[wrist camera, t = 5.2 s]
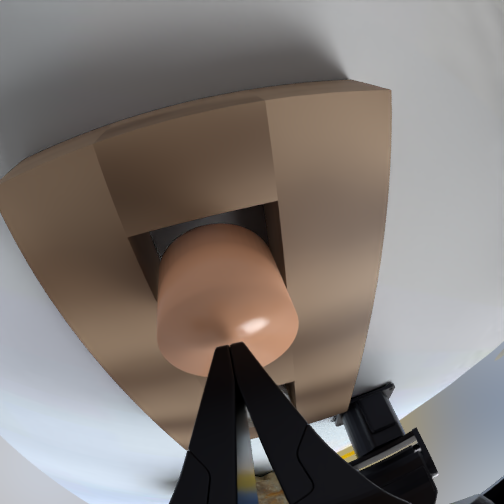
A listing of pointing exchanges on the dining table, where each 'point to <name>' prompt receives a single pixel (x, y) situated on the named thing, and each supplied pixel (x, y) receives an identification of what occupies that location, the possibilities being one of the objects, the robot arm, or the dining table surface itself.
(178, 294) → the peach rounded cylinder
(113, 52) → the dining table surface
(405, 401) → the dining table surface
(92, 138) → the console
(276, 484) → the rough brown rock
